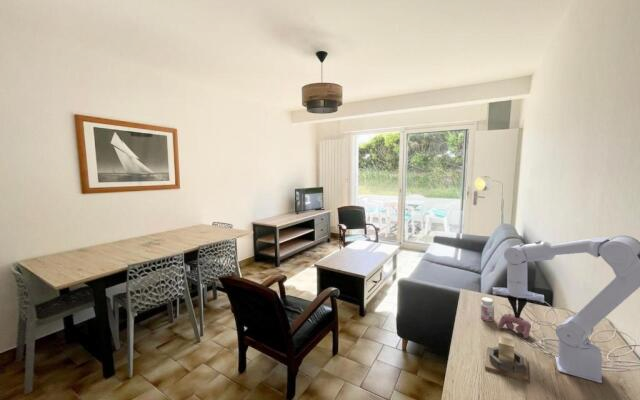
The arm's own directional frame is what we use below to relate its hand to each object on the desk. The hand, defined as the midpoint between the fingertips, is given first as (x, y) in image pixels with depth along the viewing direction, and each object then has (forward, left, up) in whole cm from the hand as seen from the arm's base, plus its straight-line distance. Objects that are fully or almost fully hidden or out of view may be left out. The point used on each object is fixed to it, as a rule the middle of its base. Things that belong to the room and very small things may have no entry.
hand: (517, 316), depth 95 cm
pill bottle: (+10, -14, -10) cm, 20 cm away
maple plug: (+3, +14, -9) cm, 17 cm away
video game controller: (+1, -8, -10) cm, 14 cm away
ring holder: (+3, +14, -10) cm, 18 cm away
